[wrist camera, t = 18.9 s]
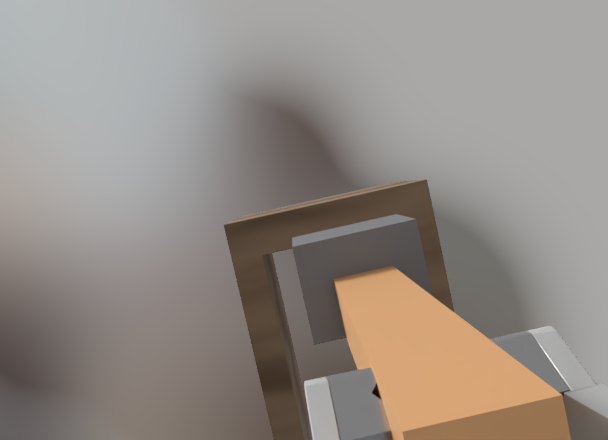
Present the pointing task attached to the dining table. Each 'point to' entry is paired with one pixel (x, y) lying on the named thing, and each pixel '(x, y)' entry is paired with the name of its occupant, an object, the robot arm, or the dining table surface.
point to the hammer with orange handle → (418, 339)
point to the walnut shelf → (267, 295)
